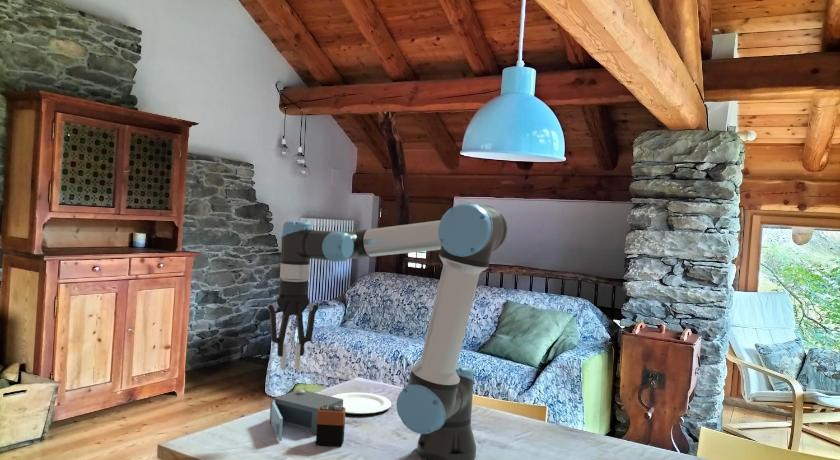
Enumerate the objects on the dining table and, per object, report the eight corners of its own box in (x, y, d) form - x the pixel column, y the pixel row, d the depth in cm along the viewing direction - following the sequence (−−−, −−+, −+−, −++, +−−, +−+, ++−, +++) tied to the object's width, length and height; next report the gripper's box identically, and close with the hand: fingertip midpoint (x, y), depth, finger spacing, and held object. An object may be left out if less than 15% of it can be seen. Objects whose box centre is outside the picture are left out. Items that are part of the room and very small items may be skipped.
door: (282, 441, 154) (283, 417, 154) (275, 442, 153) (277, 417, 153) (273, 422, 168) (274, 399, 168) (267, 422, 167) (268, 400, 167)
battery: (341, 447, 153) (343, 408, 153) (315, 446, 153) (317, 407, 153) (344, 441, 157) (345, 403, 157) (318, 439, 157) (320, 402, 157)
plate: (320, 398, 194) (320, 393, 194) (382, 395, 200) (382, 390, 200) (330, 419, 174) (330, 414, 174) (398, 416, 180) (399, 411, 180)
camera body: (348, 425, 169) (349, 397, 169) (324, 436, 160) (326, 407, 160) (297, 412, 178) (299, 386, 178) (272, 422, 168) (274, 395, 168)
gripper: (321, 278, 163) (316, 363, 164) (261, 277, 157) (256, 366, 158) (327, 281, 156) (322, 370, 157) (265, 281, 150) (260, 373, 151)
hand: (289, 368), depth 157 cm, fingers open, 3 cm apart
